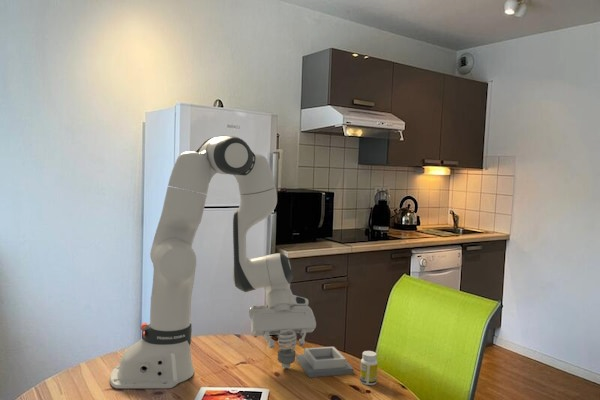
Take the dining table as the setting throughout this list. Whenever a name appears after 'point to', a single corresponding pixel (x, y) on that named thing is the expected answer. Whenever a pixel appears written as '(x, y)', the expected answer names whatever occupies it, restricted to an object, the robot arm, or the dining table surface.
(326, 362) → the bulb socket
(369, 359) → the supplement bottle
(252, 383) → the dining table surface
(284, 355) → the light bulb
